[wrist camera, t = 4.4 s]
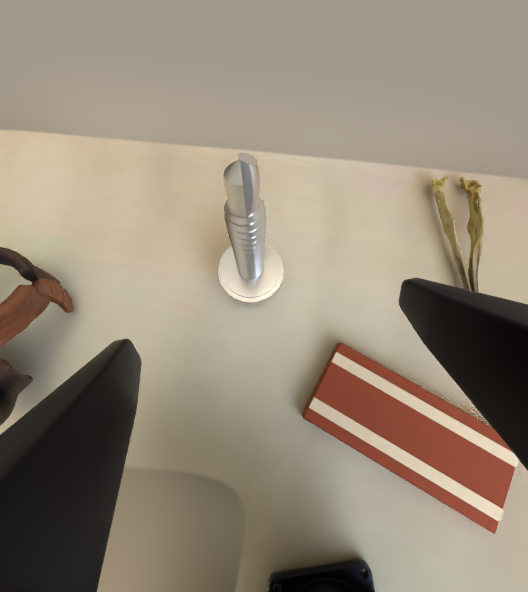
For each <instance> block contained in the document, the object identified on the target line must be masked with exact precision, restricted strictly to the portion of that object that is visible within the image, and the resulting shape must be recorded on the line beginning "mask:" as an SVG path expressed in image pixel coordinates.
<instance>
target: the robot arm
mask: <svg viewBox="0 0 528 592" xmlns="http://www.w3.org/2000/svg"><path fill="white" fill-rule="evenodd" d="M399 305H400V308H401V309H402V311H403V312H404V314H405V315H406V317H407V319H408V320H409V322H410V323H411V325H412V326H413V328H414V329H415V331H416V332H417V334H418V335H419V337H420V338H421V340H422V341H423V343H424V344H425V345H426V347H427V348H428V349H429V350H430V352H431V353H432V354H433V355H434V356H435V358H436V359H437V360H438V361H439V363H440V364H441V365H442V366H443V367H444V369H445V370H446V371H447V372H448V374H449V375H450V376H451V377H452V378H453V380H454V381H455V382H456V383H457V385H458V386H459V387H460V388H461V389H462V391H463V392H464V393H465V394H466V396H467V397H468V398H469V399H470V400H471V402H472V403H473V404H474V405H475V407H476V408H477V409H478V410H479V411H480V413H481V414H482V415H483V416H484V418H485V419H486V420H487V421H488V422H489V424H490V425H491V426H492V427H493V429H494V430H495V431H496V432H497V433H498V435H499V436H500V437H501V438H502V440H503V441H504V442H505V443H506V444H507V446H508V447H509V448H510V449H511V451H512V452H513V453H514V454H515V455H516V457H517V458H518V459H519V460H520V462H521V463H522V464H523V465H524V466H525V468H526V469H527V470H528V304H523V303H519V302H515V301H511V300H507V299H503V298H499V297H494V296H490V295H486V294H482V293H478V292H474V291H470V290H466V289H461V288H457V287H453V286H449V285H445V284H441V283H437V282H432V281H428V280H424V279H420V278H412V279H407V280H405V281H403V283H402V286H401V291H400V297H399ZM140 372H141V358H140V356H139V354H138V352H137V351H136V349H135V347H134V345H133V344H132V342H131V341H130V340H129V339H122V340H117V341H114V342H113V343H111V344H110V345H109V346H108V347H107V348H105V349H104V350H103V351H102V352H100V353H99V354H98V355H97V356H96V357H94V358H93V359H92V360H91V361H90V362H88V363H87V364H86V365H85V366H83V367H82V368H81V369H80V370H79V371H77V372H76V373H75V374H74V375H73V376H71V377H70V378H69V379H68V380H66V381H65V382H64V383H63V384H62V385H60V386H59V387H58V388H57V389H56V390H54V391H53V392H52V393H51V394H50V395H48V396H47V397H46V398H45V399H43V400H42V401H41V402H40V403H39V404H37V405H36V406H35V407H34V408H33V409H31V410H30V411H29V412H28V413H26V414H25V415H24V416H23V417H22V418H20V419H19V420H18V421H17V422H16V423H14V424H13V425H12V426H11V427H10V428H8V429H7V430H6V431H5V432H3V433H2V434H1V435H0V592H97V588H98V583H99V578H100V574H101V569H102V565H103V560H104V556H105V551H106V546H107V541H108V537H109V533H110V528H111V524H112V519H113V515H114V510H115V505H116V501H117V497H118V492H119V487H120V483H121V478H122V473H123V469H124V465H125V460H126V456H127V451H128V446H129V442H130V437H131V433H132V428H133V424H134V419H135V414H136V409H137V402H138V392H139V382H140ZM362 569H365V572H364V573H362V574H360V571H361V570H362ZM275 584H279V585H280V586H279V587H278V588H275V587H273V586H274V585H275ZM269 592H375V590H374V585H373V579H372V573H371V570H370V568H369V566H368V564H367V563H366V562H365V561H364V560H354V561H348V562H342V563H336V564H330V565H324V566H318V567H312V568H306V569H300V570H294V571H288V572H282V573H276V574H273V575H272V576H271V577H270V579H269Z"/></svg>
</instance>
